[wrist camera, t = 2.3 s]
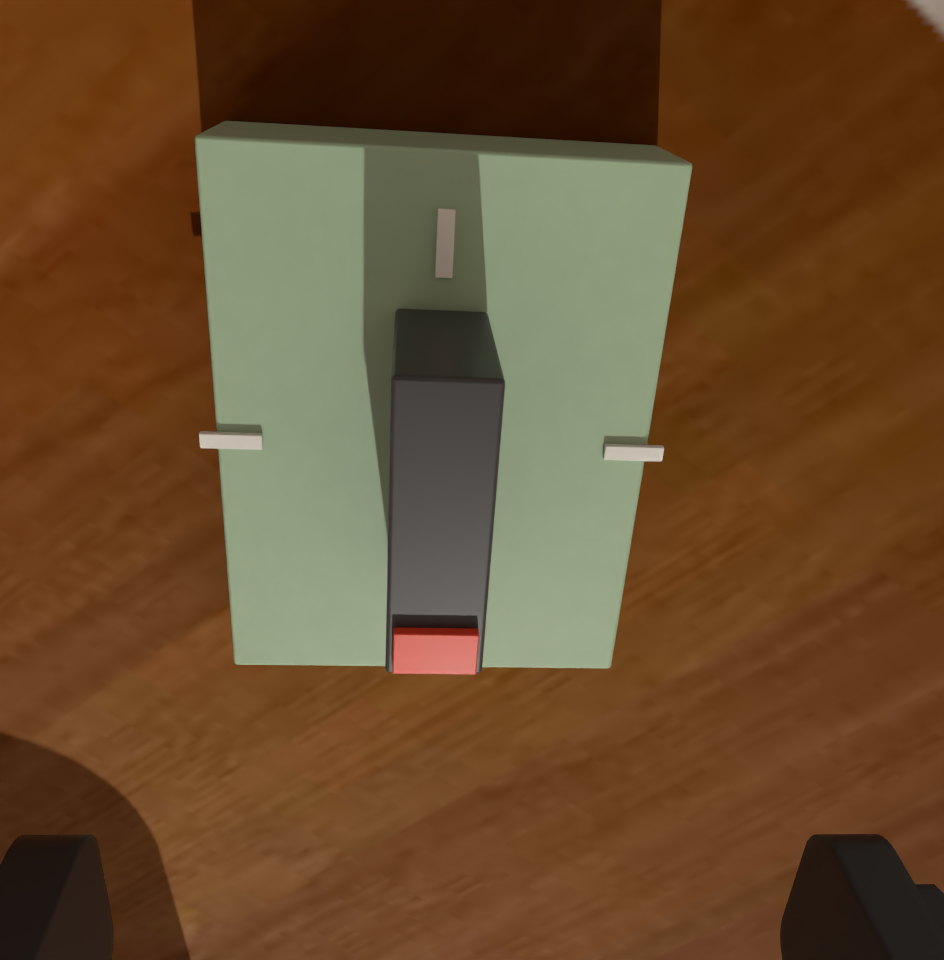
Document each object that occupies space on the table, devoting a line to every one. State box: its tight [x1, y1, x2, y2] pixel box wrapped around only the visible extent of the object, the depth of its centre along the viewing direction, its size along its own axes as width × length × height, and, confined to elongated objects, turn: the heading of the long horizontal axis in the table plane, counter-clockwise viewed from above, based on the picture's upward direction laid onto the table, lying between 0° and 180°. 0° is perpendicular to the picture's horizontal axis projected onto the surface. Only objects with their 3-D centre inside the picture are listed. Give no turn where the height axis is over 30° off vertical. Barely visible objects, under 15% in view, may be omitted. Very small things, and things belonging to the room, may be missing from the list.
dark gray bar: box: [385, 309, 505, 674], centre depth 19 cm, size 6×2×4 cm, turn 177°
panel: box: [195, 121, 692, 668], centre depth 22 cm, size 13×11×3 cm
